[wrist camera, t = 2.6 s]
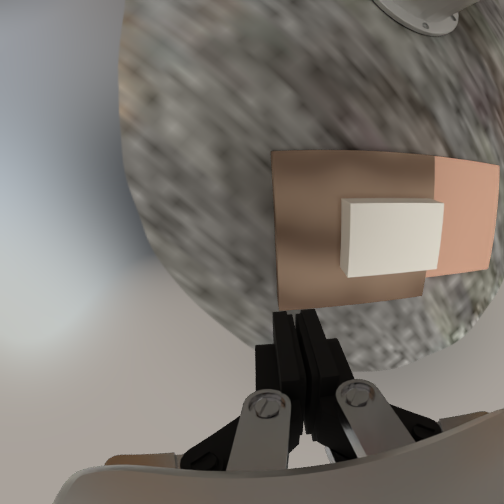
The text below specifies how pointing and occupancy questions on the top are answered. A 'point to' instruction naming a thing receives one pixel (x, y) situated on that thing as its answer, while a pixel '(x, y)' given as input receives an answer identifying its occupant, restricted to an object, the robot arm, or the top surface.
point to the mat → (465, 214)
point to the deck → (337, 222)
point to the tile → (389, 235)
